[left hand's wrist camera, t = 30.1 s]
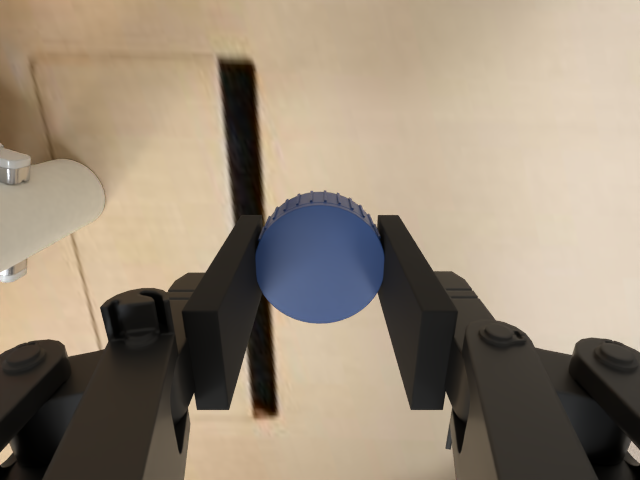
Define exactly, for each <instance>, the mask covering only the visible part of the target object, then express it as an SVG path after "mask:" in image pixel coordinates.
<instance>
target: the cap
mask: <svg viewBox="0 0 640 480" xmlns="http://www.w3.org/2000/svg"><path fill="white" fill-rule="evenodd" d="M380 238H381V237H380V234H379V232H378V229H377V227H376V225H375V224H373V221H372V219H371V216H370V214H367V213H366V212H365V211H364V210H363V208H362V206H361V205H357V204H356V203H355V202H353V201H352V199H351V198H349V199H348V198H346V197H343V196H341V195H339V193H337V194H334V193H328V192H326V191H324V192H313V191H311V193H306V194H302V195H300V194H298V196H296V197H294V198H292V199H290V200H288V199H287V200H286V202H285V203H284V204H282V205H281V206H280V207H278V206H277V207H276V209H275V212H274V213H273V214H272V216H269V217H268V219H267V222H266V224H265V227H264V226H263V229H262V231H261V234H260V236H259V238H258V241H259V243H258V246H257V249H256V254H255V261H256V275H257V282H258V285H259V287H260V289H261V291H262V293H263V294H264V296H265V297H266V298H267V300H268V301H269V302H270V303H271V304H272V305H273V306H274V307H275V308H277V309H278V310H279V311H280V312H282V313H284V314H285V315H287V316H289V317H291V318H294V319H296V320H300V321H303V322H308V323H331V322H336V321H340V320H343V319H346V318H349V317H351V316H352V315H354V314H356V313H358V312H359V311H361V310H362V309H363V308H364V307H366V306H367V305H368V304H369V303H370V302H371V300H372V299H373V298H374V297H375V295H376V294H377V292H378V290H379V288H380V286H381V284H382V281H383V272H384V257H385V254H384V250H383V247H382V244H381V242H380Z"/></svg>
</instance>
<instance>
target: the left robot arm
mask: <svg viewBox="0 0 640 480" xmlns="http://www.w3.org/2000/svg"><path fill="white" fill-rule="evenodd" d="M262 229H263V228H262V215H241V217H240V218H239V220H238V222H237V223H236V225H235V226H234V228H233V230H232V231H231V233H230V234H229V236H228V238H227V239H226V241H225V242H224V244H223V246H222V247H221V249H220V250H219V252H218V254H217V255H216V257H215V258H214V260H213V262H212V263H211V265H210V266H209V268H208V270H207V271H206V273H187V274H185V275H184V276H182V277H181V278H179V279H177V280H176V281H175V282H174V283H173V284H172V286H171V287H170V288H169V290H168V292H165V291H163V290H160V289H155V288H141V289H135V290H130V291H127V292H124V293H121V294H118V295H116V296H114V297H112V298H110V299H109V300H107V301H106V302H105V303H104V304H103V305H102V306H101V307H100V309H101V313H102V317H103V321H104V325H105V329H106V333H107V337H108V344H107V346H106V348H105V349H103V350H100V351H95V352H90V353H85V354H80V355H75V356H70V357H68V355H67V352H66V349H65V345H63V344H62V343H61V342H59V341H55V340H49V339H48V340H38V341H31V342H28V343H23V344H20V345H18V346H16V347H14V348H12V349H10V350H7V351H5V352H4V353H2V354H0V452H1V451H2V450H3V449H4V448H5V447H6V445H7V444H8V443H10V446H11V448H12V451H13V453H12V454H11V456H10V457H9V458H8V459H7V460H6V461H5V462H4V463H2V464H1V465H0V480H184V475H185V466H186V457H187V449H188V440H189V432H190V418H189V412H188V406H189V404H190V401H191V399H192V396H193V394H195V400H196V406H197V410H229V408H230V404H231V401H232V397H233V394H234V390H235V387H236V383H237V380H238V376H239V373H240V369H241V365H242V362H243V358H244V355H245V351H246V348H247V344H248V341H249V337H250V334H251V330H252V327H253V323H254V320H255V316H256V313H257V309H258V305H259V302H260V298H261V295H262V291H261V289H260V287H259V285H258V282H257V275H256V261H255V254H256V249H257V246H258V243H259V241H258V238H259V236H260V234H261V231H262ZM377 229H378V232H379V234H380V237H381V238H380V242H381V244H382V247H383V250H384V254H385V257H384V272H383V281H382V284H381V286H380V288H379V290H378V296H379V299H380V303H381V306H382V310H383V313H384V317H385V320H386V324H387V328H388V331H389V335H390V338H391V342H392V345H393V349H394V352H395V356H396V359H397V363H398V366H399V370H400V373H401V377H402V380H403V384H404V387H405V391H406V395H407V398H408V402H409V405H410V409H411V410H443V405H444V398H445V392H446V393H447V395H448V398H449V400H450V402H451V405H452V412H451V418H450V424H449V430H448V436H447V442H446V449H450V450H451V445H452V448H453V457H454V465H455V474H456V480H640V463H638V462H637V461H636V460H635V459H634V458H633V457H632V456H631V455H630V454H629V452H628V451H627V450H628V447H629V445H630V443H631V441H632V442H633V443H634V444H635V445H636V446H637V447H638V448H639V450H640V352H638V351H637V350H635V349H633V348H630V347H628V346H626V345H624V344H622V343H620V342H617V341H612V340H609V339H600V338H586V339H581V340H580V341H579V342H577V343H576V344H575V348H574V351H573V354H572V355H569V354H563V353H558V352H553V351H548V350H543V349H539V348H535V347H534V345H533V343H532V341H531V340H530V338H529V337H528V336H527V335H526V333H524V332H523V331H521V330H520V329H518V328H517V327H515V326H512V325H510V324H507V323H505V322H501V321H496V320H495V319H494V317H493V316H492V315H491V313H490V312H489V311H488V309H487V308H486V307H485V306H484V304H483V303H482V302H481V300H480V299H478V296H477V295H476V294H475V292H474V291H472V288H471V287H470V286H469V285H468V283H467V282H466V281H465V279H463V278H461V277H460V276H458V275H457V274H455V273H453V272H452V271H433V270H432V268H431V267H430V265H429V264H428V262H427V260H426V259H425V257H424V256H423V254H422V252H421V251H420V249H419V248H418V246H417V244H416V243H415V241H414V240H413V238H412V236H411V235H410V233H409V232H408V230H407V228H406V227H405V225H404V224H403V222H402V220H401V219H400V217H399V216H398V215H378V224H377Z"/></svg>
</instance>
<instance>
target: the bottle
mask: <svg viewBox="0 0 640 480" xmlns="http://www.w3.org/2000/svg"><path fill="white" fill-rule="evenodd" d="M104 205H105V194H104V190H103V187H102V185H101V183H100V181H99V179H98V178H97V177H96V175H95V174H94V173H93V172H92V171H91V170H90V169H88V168H87V167H86V166H84V165H83V164H81V163H79V162H76V161H73V160H69V159H55V160H51V161H47V162H43V163H39V164H35V165H31V170H30V180H29V181H27V182H25V181H22V182H21V183H20V184H16V185H9V184H4V183H1V182H0V273H2V272H3V271H5V270H7V269H9V268H11V267H12V266H14V265H16V264H18V263H19V262H21V261H23V260H25V259H27V258H28V257H30V256H32V255H34V254H36V253H37V252H39V251H41V250H43V249H45V248H46V247H48V246H50V245H52V244H54V243H55V242H57V241H59V240H61V239H62V238H64V237H66V236H68V235H70V234H71V233H73V232H75V231H77V230H79V229H80V228H82V227H84V226H86V225H88V224H89V223H91V222H93V221H94V220H96V219H97V218H98V217H99V216H100V215H101V213H102V211H103V209H104Z"/></svg>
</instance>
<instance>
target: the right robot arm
mask: <svg viewBox="0 0 640 480" xmlns="http://www.w3.org/2000/svg"><path fill="white" fill-rule="evenodd" d="M30 170H31V156H29V155H26V154H23V153H20V152H16V151H13V150H10V149H6V148H4V146H3V145H2V144H1V143H0V182H1V183H4V184H9V185H16V184H20V183H21V182H22V181H25V182H27V181H29V180H30ZM26 274H27V259H25V260H23V261H21V262H19V263H18V264H16V265H14V266H12V267H11V268H9V269H7V270H5V271H3V272H2V273H0V281H1V282H13V281H16V280H17V279H19V278H21V277H22V276H24V275H26Z"/></svg>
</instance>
